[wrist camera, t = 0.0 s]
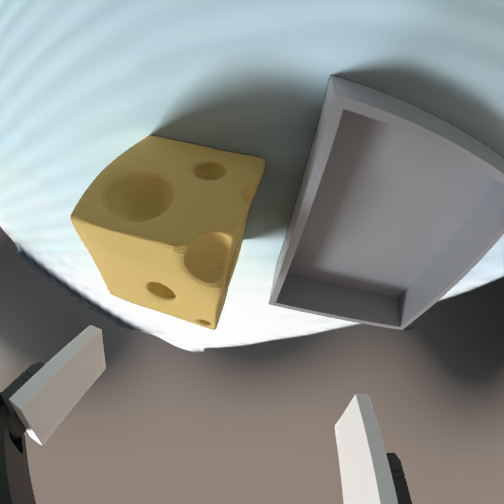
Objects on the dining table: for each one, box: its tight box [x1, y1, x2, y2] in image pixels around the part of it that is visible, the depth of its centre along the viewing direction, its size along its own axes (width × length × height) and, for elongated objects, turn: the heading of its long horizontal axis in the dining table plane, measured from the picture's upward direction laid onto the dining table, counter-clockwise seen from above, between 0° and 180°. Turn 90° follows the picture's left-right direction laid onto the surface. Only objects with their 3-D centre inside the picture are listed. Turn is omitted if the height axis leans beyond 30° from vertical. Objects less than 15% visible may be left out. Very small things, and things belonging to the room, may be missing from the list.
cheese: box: [70, 135, 265, 330], centre depth 20 cm, size 10×11×10 cm
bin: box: [269, 75, 504, 330], centre depth 20 cm, size 20×15×4 cm
